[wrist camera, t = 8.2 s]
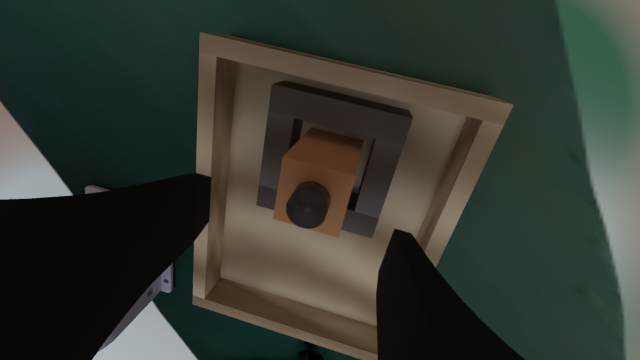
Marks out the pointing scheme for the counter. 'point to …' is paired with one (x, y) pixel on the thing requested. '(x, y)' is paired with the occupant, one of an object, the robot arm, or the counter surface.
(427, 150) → the walled box
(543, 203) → the counter surface
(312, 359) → the valve
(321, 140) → the connector
